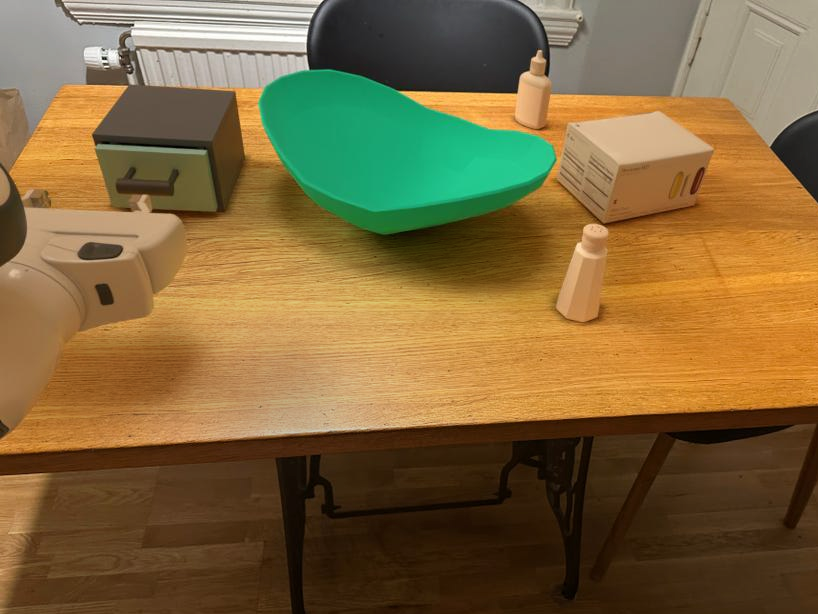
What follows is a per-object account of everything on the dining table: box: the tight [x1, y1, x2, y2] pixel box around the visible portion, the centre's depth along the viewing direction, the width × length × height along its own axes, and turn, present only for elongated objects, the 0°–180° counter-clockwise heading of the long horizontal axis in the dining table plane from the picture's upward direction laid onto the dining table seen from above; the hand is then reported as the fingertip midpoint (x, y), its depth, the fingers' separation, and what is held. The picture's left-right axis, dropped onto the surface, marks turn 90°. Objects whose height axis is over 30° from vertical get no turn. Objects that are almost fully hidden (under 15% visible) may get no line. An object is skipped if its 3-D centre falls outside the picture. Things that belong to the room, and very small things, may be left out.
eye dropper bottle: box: [514, 49, 552, 130], centre depth 115 cm, size 4×6×12 cm
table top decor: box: [257, 68, 558, 236], centre depth 90 cm, size 40×28×13 cm
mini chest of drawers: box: [91, 83, 246, 212], centre depth 92 cm, size 15×14×10 cm
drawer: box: [94, 142, 218, 213], centre depth 89 cm, size 18×13×8 cm
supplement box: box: [556, 110, 715, 224], centre depth 101 cm, size 17×13×9 cm
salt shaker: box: [555, 223, 610, 323], centre depth 79 cm, size 5×5×11 cm
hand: (92, 198), depth 68 cm, fingers open, 8 cm apart
